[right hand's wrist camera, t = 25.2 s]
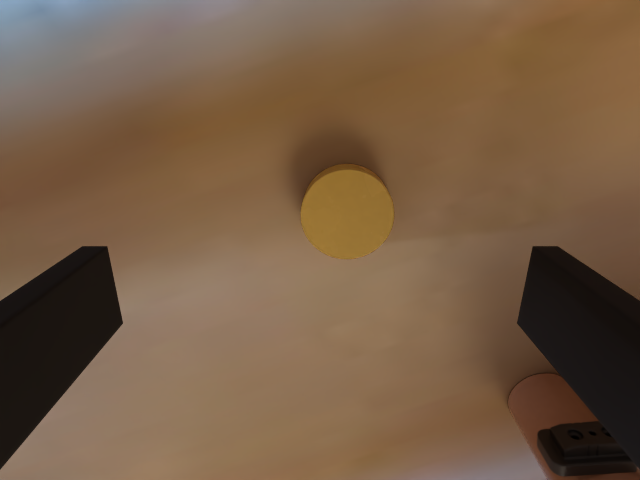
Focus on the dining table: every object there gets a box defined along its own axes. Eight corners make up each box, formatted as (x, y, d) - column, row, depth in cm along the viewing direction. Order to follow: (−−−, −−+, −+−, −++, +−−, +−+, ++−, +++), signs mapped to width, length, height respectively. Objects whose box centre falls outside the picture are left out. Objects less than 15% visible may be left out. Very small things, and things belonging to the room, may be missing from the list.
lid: (310, 156, 21) (308, 161, 20) (399, 172, 22) (404, 178, 20) (296, 239, 23) (293, 250, 21) (379, 254, 23) (382, 266, 22)
